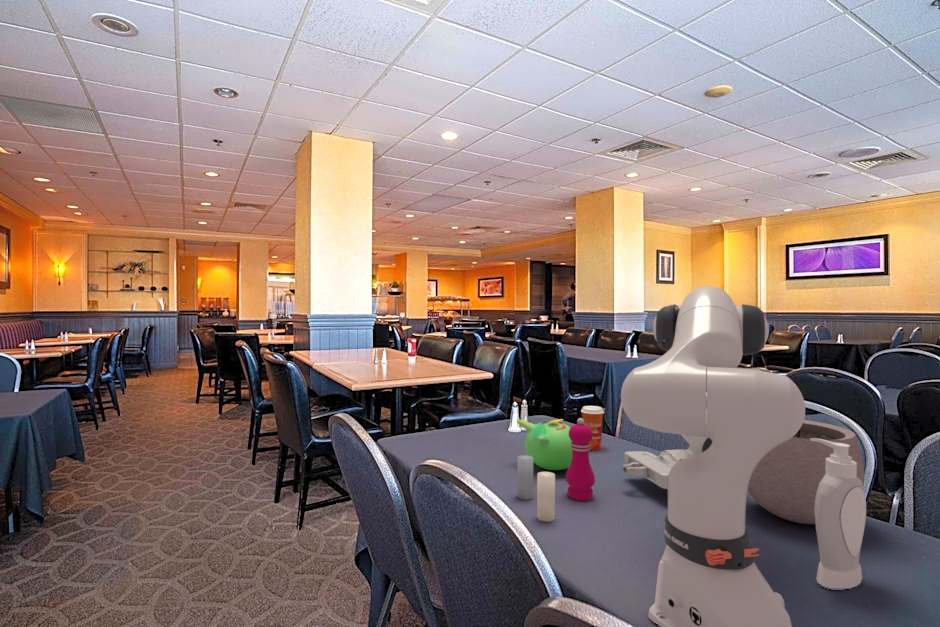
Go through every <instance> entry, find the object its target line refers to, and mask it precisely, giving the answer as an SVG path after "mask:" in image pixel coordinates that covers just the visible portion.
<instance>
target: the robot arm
mask: <svg viewBox="0 0 940 627" xmlns="http://www.w3.org/2000/svg"><path fill="white" fill-rule="evenodd" d="M653 320H654V321H653V323H652V324H653V325H652V333H653V338H654V340H655V341H656V345H657V346H658V347H659V348H660V349H661V350H662V351H665V353H663V354H662V356H660V357H659V358H657V359H655V360H653V361H651V362H649V363H647V364H643V365H641V366H637V367H635V368H633V369H632V370H631V371H630V372H629V373H628V374H627V376H626V378H625V379H624V381H623V383H622V387H621V392H620V401H621V406H622V409H623V411H624V414H625V415H626V417H627V418H628V420H629V421H630V422H631V423H632V424H633V425H634V426H639V427H642V428H644V429H648V430H652V431H656V432H658V433H664V434H674V435H681V437H683V438H684V440H685V441H686V442H687V443H688V444H689V445H688V448H686V449H682V448H681V449H667V450H666V449H665V450H663V451H661V452H660V453H659V455H656V454H654V453H652V452H650V451H645V450H644V451H643V450H642V451H641V450H639V451H638V450H637V451H636V450H635V451H633V450H632V451H631V450H629V451H625V452H624V455H623V462H624V464H623V465H622V466H621V467H622V469H621V471H622V472H623V473H625V474H626V475H628V476H637V477H643V478H645V479H647V480H648V481H650V482H651V483H653V484H654V485H656V486H658V487H659V488H662V489H665V490H667V514H666V515H665V517H664V524H663V532H664V539H663V540H664V541H665V544H666V546H665V549H664V551H663V554H662V557H661V558H660V560H659V563H658V567H657V577H656V578H657V579H656V585H655V586H656V587H655V597H654V603H653V604H652V605H651V606H650V607H649V608H648V619H649V620H650V621H651V622H653V623H654V624H655V623H656V624H658V625H659V626H661V627H793V626H792V622H791V617H790V615H789V613H788V610H786V608H785V605H786V604H785V600H784V598H783V596H782V595H781V594H780V593H779V592H776V591H775V592H774V590H773V589H772V587H771V586H770V584H769V582H768V581H767V580H766V578H765V576H764V575H763V573H761V571H760V569H759V568H758V566H757V565H756V563H755V560H756V559H755V557H759V556H760V554H759V553H756V552H759V551H760V549H759V547H754V548H753V547H752V541H751V538H750V536H749V532H748V529H747V527H746V515H747V514H746V512H747V511H746V510H747V499H748V493H749V492H748V486H749V481H750V478H751V476H752V473H753V471H754V469H755V468H756V466H757V464H758V463H759V462H760V461H761V459H762V458H763V457H764V456H765V455H766V454H767V453H768V452H769V451H771V450H772V449H773V448H775V447H776V446H778V445H779V444H781V443H783V442H785V441H787V440H789V439H790V438H792V437H793V436H794V435H795V434H796V433H797V432H798V431H799V429H800V428H801V426H802V424H803V421H804V420H805V417H806V403H805V399H804V397H803V396H802V394H801V392H802V391H801V390H800V389H799V387H798V385H796V383H795V382H794V381H793V380H792V379H791V378H789V376H787V375H784V374H779V373H774V372H772V371H771V372H770V371H765V370H760V369H756V368H745V367H744V368H742V367H739V368H738V366H739V365H740V363H741V362H742V359H743V356H750V355H756V354H758V353H759V352H761V351H762V350H764V348H765V344H766V342H767V341H768V338H769V335H770V334H769V333H770V327H769V322H768V320H767V317H766V316H765V313H764V311H763V310H762V309H761V308H760V307H758V306H755V305H750V304H744V303H743V304H741V305H737V304H735V302H734V300H733V299H732V297H731V296H730V294H729V293H728V292H727V291H725V290H724V289H722V288H719V287H717V286H710V285H709V286H708V285H707V286H706V285H705V286H701V287H697V288H695V289H693V290H692V291H690V292H689V293H687V295H686V297H684V299H683V301H682V303H681V304H679V305H677V304H669V305H666V306H665V305H664V306H663V307H662V308H660V309H659V310H658V311H657V312H656V316H655V318H654V319H653ZM658 625H657V626H658ZM659 626H658V627H659Z"/></svg>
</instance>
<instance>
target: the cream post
mask: <svg viewBox="0 0 940 627" xmlns="http://www.w3.org/2000/svg"><path fill="white" fill-rule="evenodd" d="M536 475H537V476H536V477H537V478H536V480H537V481H536V483H537V487H536V493H537V494H536V495H537V496H536V501H537V502H536V508H537V509H536V518H538V519H537V520H539V521H541V522H544V523H545V522H546V523H548V522H550V523H551V522H553V521H555V519H556V513H555V511H556V474H555V473H554V472H551V471H540V472H537V474H536Z"/></svg>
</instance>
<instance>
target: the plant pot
mask: <svg viewBox="0 0 940 627" xmlns="http://www.w3.org/2000/svg"><path fill="white" fill-rule="evenodd" d="M807 389H808V387H805V388H804V389H803V390H802V391H800V392H801V394H802V396H803V395H804V394H805V393H806V391H807ZM810 438H817V439H823V440H827V441H830V442H834V443H844V444H848V445H850V447H848V456H850V457H852V461H854V462H856V463H857V478H859V479H860V480H861V481H862V485H863V486H864V483H865V466H864V460H863V455H862V452H861V448H860V444H859V442H858V438H857V435H856V434H855V432H854V431H852V430H850V429H847V428H844V427H841V426H838V425H834V424H831V423H825V422H820V421H814V420H808V419H804V421H803V424H802V426H801V428H800V429H799V431H798V432H797V433H796V434H795V435H794V436H793V437H792V438H790V439H789V440H787V441H785V442H783V443H781V444H779V445H778V446H776V447H775V448H773V449H772V450H771V451H769V452H768V453H767V454H766V455H765V456H764V457H763V458H762V459H761V461H760V462H759V463H758V464H757V466H756V468H755V469H754V471H753V473H752V476H751V478H750V481H749V486H748V492H747V493H749V495H750V496H751V498H753V500H754V501H755V502H756V503H757V505H759V506H761V507H762V508H763V509H764V510H766V511H767V512H769V513H770V514H772V515H774V516H776V517H778V518H780V519H783V520H786V521H790V522H793V523H798V524H803V525H816V523H815V498H816V493H817V489H818V487H819V483H820V481H821V480H822V479H823V477H824V476H825V473H826V472H825V463H826V458H827V457H830V454H833V453H834V450H833V448H832V447H829V446H827V445H825V444H823V443H820V442H816V441H810Z"/></svg>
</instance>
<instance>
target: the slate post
mask: <svg viewBox="0 0 940 627" xmlns="http://www.w3.org/2000/svg"><path fill="white" fill-rule="evenodd" d="M516 459H517V460H516V461H517V464H516V465H517V468H516V469H517V472H516V473H517V475H516V476H517V477H516V478H517V479H516V480H517V481H516V482H517V483H516V484H517V485H516V487H517V490H516V491H517V492H516V496H517V498H518V499H519V498H520V500H523V499H524V501H529V500H528V499H530V500H532V499H533V498H534V462H533V457H532V456H528V454H526V455H518V456H517V458H516Z"/></svg>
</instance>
